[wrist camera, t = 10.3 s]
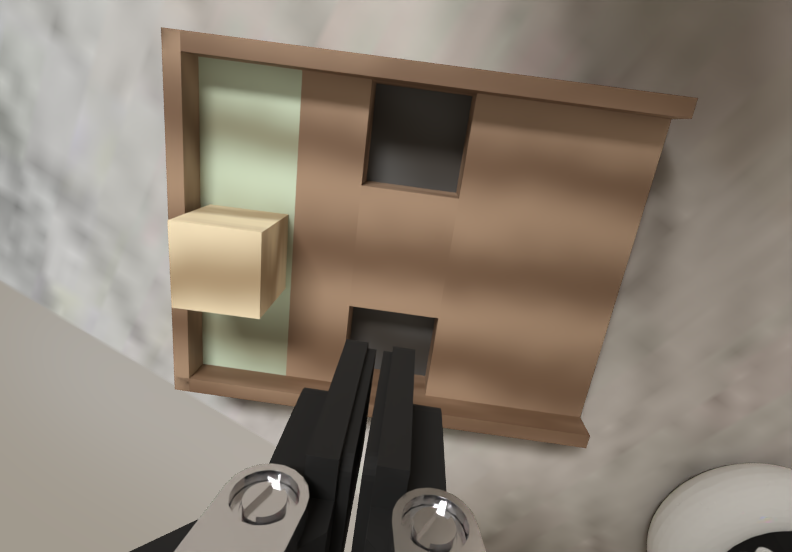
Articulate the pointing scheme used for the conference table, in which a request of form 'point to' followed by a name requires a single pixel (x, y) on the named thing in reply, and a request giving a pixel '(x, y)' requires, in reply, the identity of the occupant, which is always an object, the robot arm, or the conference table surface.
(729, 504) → the decorative figurine
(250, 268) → the maple block
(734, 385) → the conference table surface
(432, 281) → the box
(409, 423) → the robot arm
